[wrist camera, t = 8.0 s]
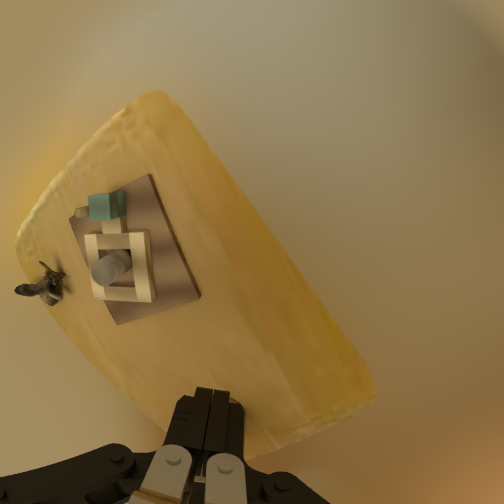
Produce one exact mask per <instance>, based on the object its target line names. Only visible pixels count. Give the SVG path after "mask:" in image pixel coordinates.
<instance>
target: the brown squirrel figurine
mask: <svg viewBox="0 0 504 504" xmlns="http://www.w3.org/2000/svg"><path fill="white" fill-rule="evenodd" d="M39 263H40V264H41V265H42V266H43V267H44V268H45V269H46V271H45V273H43V278H42V280H41V282H40V283H38V284H22V285H20V286H18V287H16V289H15V292H16V293H17V294H19V295H23V296H35V295H37V294H39V295H40V297H41V298H42V299H43V301H45V302H46V303H47V304H48V305H50V306H53V305H54V304H55V303H57V302H58V300H62V297H60V296H59V295H57V294H55V292H54V289H55V287H56V285H57V283H58V281H59V283H61V284H62V281H61V280H60V278H61V277H63V276H65V274H61V273H58V272H54V271H52V270H51V269H50V268H49V267H48V266H47V265H46V264H45V263H43V262H41V261H39ZM52 280H53V281H52Z"/></svg>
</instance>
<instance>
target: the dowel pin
mask: <svg viewBox="0 0 504 504" xmlns="http://www.w3.org/2000/svg"><path fill="white" fill-rule="evenodd" d="M74 214H75V217H77V218H80V217H84V216H88V215H89V206H86V207H81V208H76V209H75V211H74Z"/></svg>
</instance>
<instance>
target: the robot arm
mask: <svg viewBox="0 0 504 504" xmlns="http://www.w3.org/2000/svg"><path fill="white" fill-rule="evenodd" d="M212 395H213V396H212ZM229 396H230V392H229V391H222V390H215V389H214V393H213V389H208V388H202V387H197V388H196V392H195V396H194V397H191V396H186V395H184V396H183V397H182V398H181V399H179V400H178V401H177V404H176V407H175V410H174V413H173V416H172V419H171V422H170V426H169V429H168V432H167V435H166V438H165V441H164V444H163V445H162V447H161V448H159V449H158V450H156V451H154V452H150V453H132V451H131V450H130V449H129V448H128V447H126V446H124V445H121V444H116V443H112V444H108V445H105V446H103V447H100V448H98V449H95V450H92V451H90V452H87V453H84V454H82V455H79V456H76V457H73V458H70V459H67V460H64V461H61V462H58V463H55V464H52V465H48V466H45V467H41V468H38V469H34V470H30V471H27V472H23V473H18V474H14V475H9V476H5V477H0V504H124V503H126V502H128V504H330V503H329V502H327V501H326V500H325V499H323V498H322V497H321V496H319V495H318V494H317V493H316V492H314V491H313V490H312V489H310V488H309V487H308V486H307V485H305V484H304V483H303V482H302V481H301V480H299V479H298V478H297V477H296V476H294V475H292V474H291V473H288V472H274V473H272V474H270V475H269V474H265V473H262V472H259V471H256V470H254V469H252V468H251V467H249V466H248V465H247V463H246V462H245V460H244V441H245V416H246V414H245V410H244V409H243V407H242V406H241V404H239V403H237V402H236V401H234V400H232V399H230V398H229Z"/></svg>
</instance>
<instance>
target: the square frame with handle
mask: <svg viewBox="0 0 504 504" xmlns="http://www.w3.org/2000/svg"><path fill="white" fill-rule="evenodd" d="M88 202H89V216H90V221H100V220H101V221H102V232H90V233H87V234H85V235H84V238H85V246H86V254H87V261H88V267H89V273H90V279H91V284H92V290H93V295H94V299H100V300H114V301H130V302H150V303H152V302H153V300H154V299H155V298H156V293H155V285H154V277H153V269H152V259H151V249H150V238H149V230H129V231H127V221H126V215H127V211H126V192H115V193H106V194H97V195H89V196H88ZM105 249H131V258H132V266H133V274H134V281H135V282H113V283H111V284H110V285H109V286H106V287H103V286H100V285H98V284H97V283H96V282H95V281H94V280H93V278H92V275H91V267H92V265H93V263H94V262H96V261H97V260H99V259H101V258H103V257H105Z"/></svg>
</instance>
